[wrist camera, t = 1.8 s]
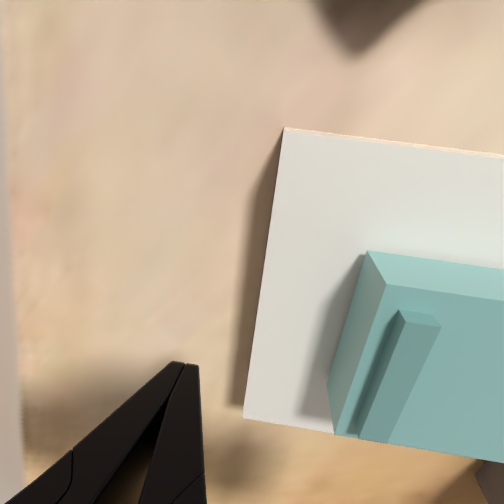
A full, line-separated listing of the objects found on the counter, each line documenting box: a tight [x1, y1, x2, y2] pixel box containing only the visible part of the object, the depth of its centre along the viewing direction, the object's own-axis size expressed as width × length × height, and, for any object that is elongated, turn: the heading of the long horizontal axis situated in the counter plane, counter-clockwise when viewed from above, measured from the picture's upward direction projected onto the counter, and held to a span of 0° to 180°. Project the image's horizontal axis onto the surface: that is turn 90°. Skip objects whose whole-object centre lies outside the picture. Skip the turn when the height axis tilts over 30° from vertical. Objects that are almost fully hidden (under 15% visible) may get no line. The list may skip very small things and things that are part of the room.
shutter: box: [327, 250, 504, 463], centre depth 11 cm, size 7×7×3 cm
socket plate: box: [242, 127, 504, 433], centre depth 14 cm, size 19×14×3 cm
